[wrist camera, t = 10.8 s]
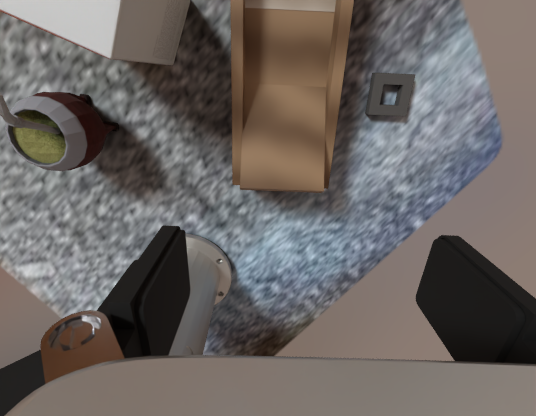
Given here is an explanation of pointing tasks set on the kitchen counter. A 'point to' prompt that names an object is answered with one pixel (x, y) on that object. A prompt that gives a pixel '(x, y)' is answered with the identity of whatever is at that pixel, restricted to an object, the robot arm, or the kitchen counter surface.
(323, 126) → the brown long open tray
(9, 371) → the robot arm
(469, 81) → the kitchen counter surface
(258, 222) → the kitchen counter surface
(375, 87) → the square washer
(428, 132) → the kitchen counter surface
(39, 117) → the mate gourd
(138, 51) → the small box
